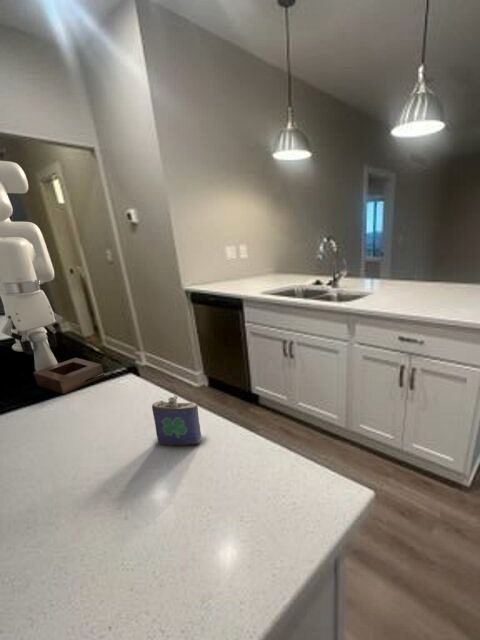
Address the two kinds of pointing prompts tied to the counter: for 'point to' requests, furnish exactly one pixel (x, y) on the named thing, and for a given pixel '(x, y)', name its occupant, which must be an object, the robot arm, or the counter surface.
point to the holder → (68, 375)
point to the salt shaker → (41, 351)
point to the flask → (177, 423)
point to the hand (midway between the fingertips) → (41, 349)
